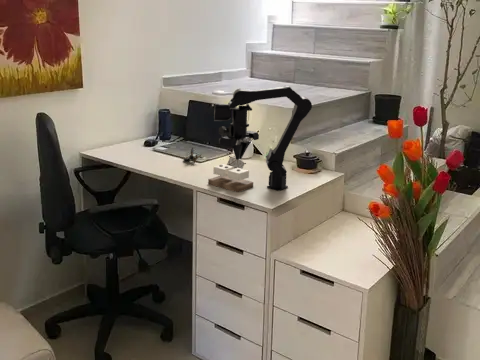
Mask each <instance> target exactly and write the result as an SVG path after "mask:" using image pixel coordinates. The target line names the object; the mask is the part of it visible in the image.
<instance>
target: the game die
mask: <svg viewBox="0 0 480 360" xmlns="http://www.w3.org/2000/svg"><path fill="white" fill-rule="evenodd" d="M228 156H229V157H228V158H229V159H228V161H227V163H226V165H229V166H233V167H234V169H235V168H241V169H244V166H245V165H246V164H247V163H246V162H244V160H243V158H242V159H239V160H237V159H236V157H235V156H231V155H228Z"/></svg>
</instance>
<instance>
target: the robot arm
mask: <svg viewBox="0 0 480 360" xmlns="http://www.w3.org/2000/svg"><path fill="white" fill-rule="evenodd" d="M280 98H287V99H289V101H291V103H293V104H294V105H293V109H292V114H291V116H290V119H289V121H288V123H287V125H286V127H285V128H284V130H283V133H282V135H281V137H280V139H279V140H278V143H277V144H276V146H275V147H274V149H272V148H269V151H268V152H267V154H266V155H265V163H266V166H267V168H268V170H269V171H270V172H269V175H268V185H267V186H266V188H268V189H270V190H271V189H272V190H275V191H279V192H280V191H282V190H285V189H287V188H289V185H287V171H288V170H287V169H286V167H285V165H284V164H283V162H284V160H285V154H286V151H287V149H288V147H290V146H289V145H290V144H291V142H292V140H293V138H294V136H295V133H296V131H298V128H299V126H300V124H301V122H302V121H303V120H304V119H305V118H306V117H307V116H308V114H309V113H310V112H311V110H312V107H313V104H312V101H311V100H310V99H309V98H307V97H306V96H303V95H302V96H301V95H300V94H298V93H297V92H296V91H295V90H294V89H292V87H291V86H289V85H284V86H277V87H270V88H269V87H268V88H261V89H249V88H237V89H236V90H235V91H234V92H233V94H232V98H231V99H230V101H229V102H228V103H214V110H213V111H214V112H213V115H214V116H213V119H214V120H213V122H229V120H231V119H232V122H231V123H230V124H229V127H226V126H225V125H224V126H220V127H218V134H219V135H220V136H221V137H220V138H219V139H218V144H219V146H225V147H231V148H232V151H233V153H234V157H236V159H237V160H239V159H242V160H243V157H244V154H245V153H246V152H247V149H248V147H249V146H250V144H251V143H252V142H251V141H249V139H252V140H253V141H258V140H260V138H259V137H260V134H259V133H258V132H257V131H252V130H248V128H249V127H250V124H249V123H248V111H250V112H251V111H253V108H252V107H251V106H250V104H252V103H253V102H256V101H262V100H269V99H280Z"/></svg>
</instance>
